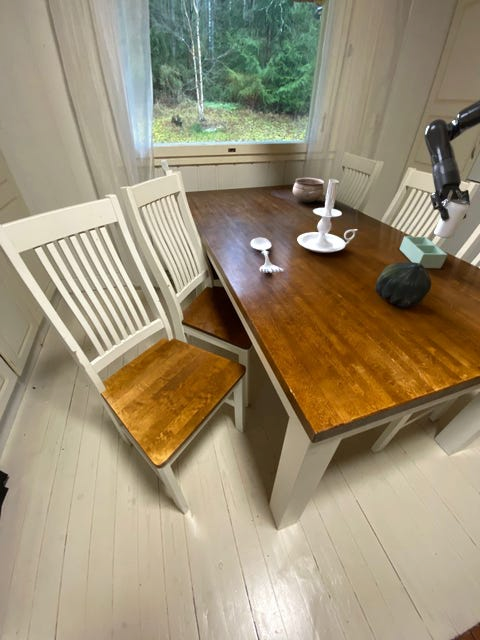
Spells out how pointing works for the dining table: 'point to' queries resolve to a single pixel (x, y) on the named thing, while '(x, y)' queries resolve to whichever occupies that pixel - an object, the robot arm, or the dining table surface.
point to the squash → (403, 284)
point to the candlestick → (325, 226)
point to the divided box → (423, 252)
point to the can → (452, 218)
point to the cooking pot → (308, 189)
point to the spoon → (263, 246)
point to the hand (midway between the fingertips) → (454, 219)
